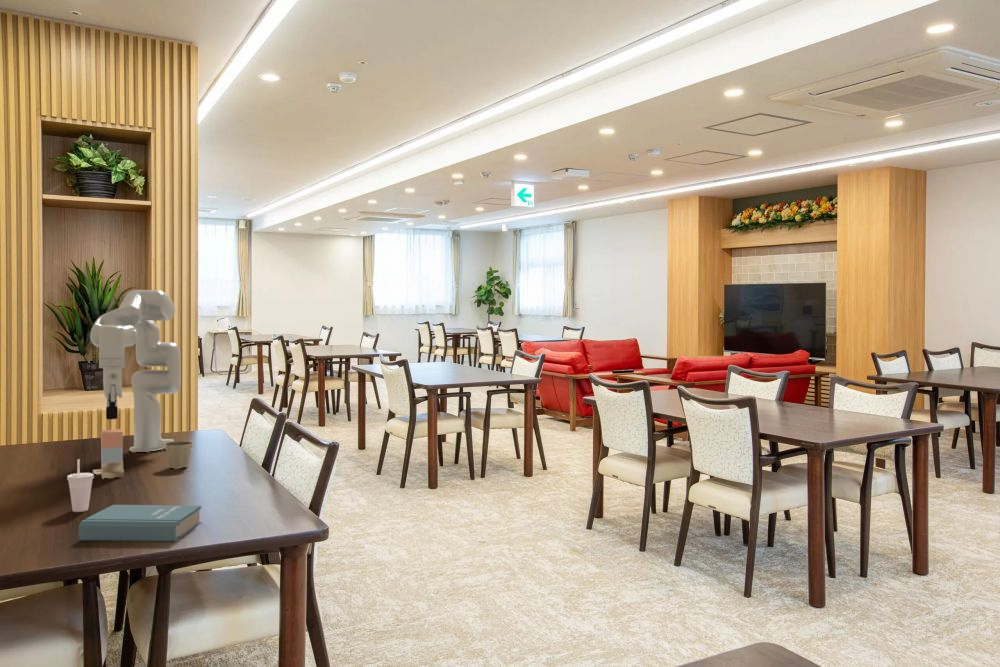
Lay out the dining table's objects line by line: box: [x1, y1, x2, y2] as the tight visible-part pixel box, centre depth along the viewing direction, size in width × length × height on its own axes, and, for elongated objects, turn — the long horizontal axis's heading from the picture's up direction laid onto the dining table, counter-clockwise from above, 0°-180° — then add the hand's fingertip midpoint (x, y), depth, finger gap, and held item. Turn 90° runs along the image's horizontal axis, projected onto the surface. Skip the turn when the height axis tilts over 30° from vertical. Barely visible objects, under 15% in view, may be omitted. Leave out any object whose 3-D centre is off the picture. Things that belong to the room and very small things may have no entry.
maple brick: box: [100, 461, 124, 480], centre depth 242 cm, size 6×6×5 cm
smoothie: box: [66, 458, 95, 513], centre depth 200 cm, size 6×6×14 cm
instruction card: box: [92, 468, 125, 475], centre depth 249 cm, size 9×7×1 cm
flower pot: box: [164, 440, 194, 469], centre depth 257 cm, size 9×9×9 cm
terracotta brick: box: [100, 428, 124, 448], centre depth 242 cm, size 6×6×5 cm
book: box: [78, 504, 202, 543], centre depth 182 cm, size 23×16×5 cm
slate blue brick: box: [100, 446, 124, 464], centre depth 242 cm, size 6×6×5 cm
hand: (111, 418), depth 242 cm, fingers closed
